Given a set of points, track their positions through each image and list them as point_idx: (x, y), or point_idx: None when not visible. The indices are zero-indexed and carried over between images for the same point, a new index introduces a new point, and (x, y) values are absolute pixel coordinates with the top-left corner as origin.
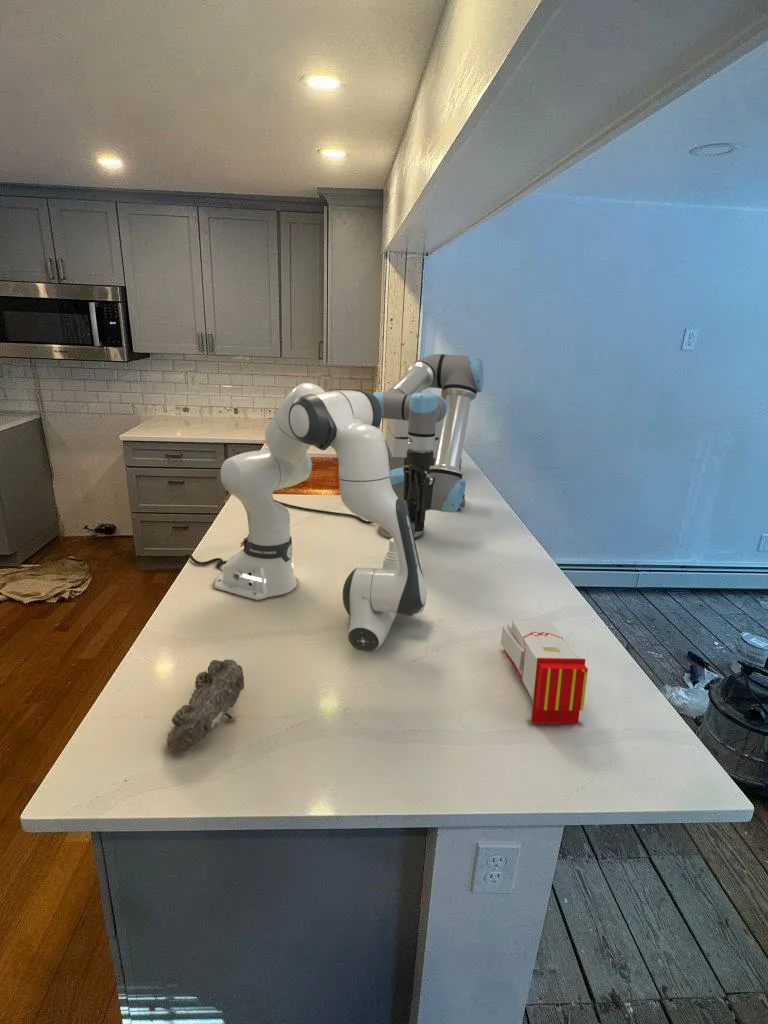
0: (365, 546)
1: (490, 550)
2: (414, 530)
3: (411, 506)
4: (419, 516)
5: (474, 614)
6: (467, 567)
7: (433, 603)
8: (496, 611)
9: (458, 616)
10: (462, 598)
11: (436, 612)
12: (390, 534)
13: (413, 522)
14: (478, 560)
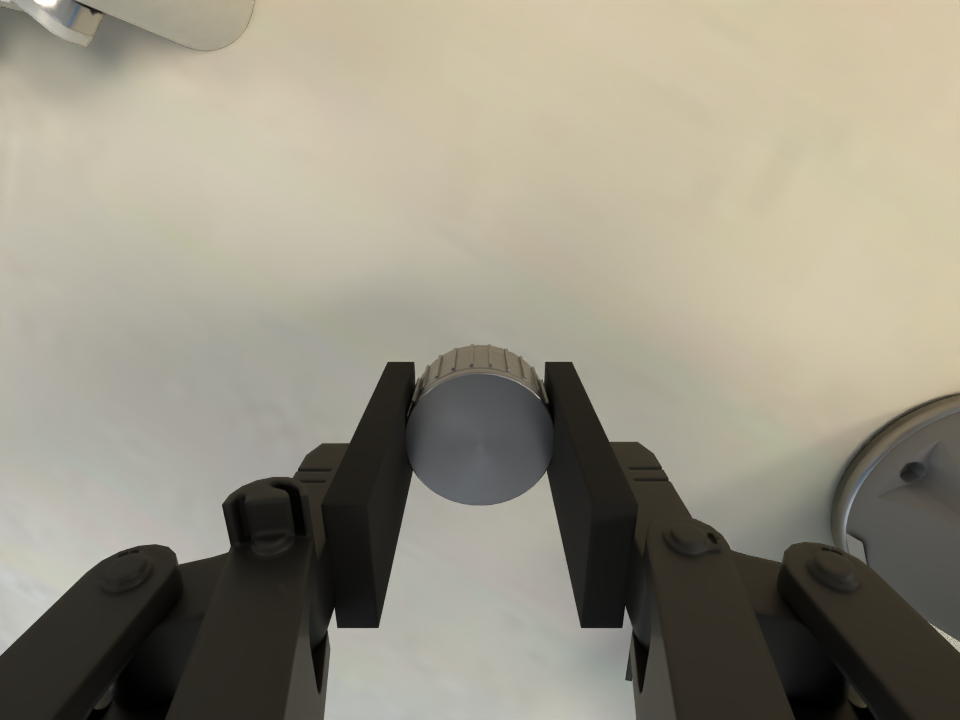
0: (930, 227)
1: (544, 707)
2: (411, 365)
3: (586, 534)
4: (329, 479)
5: (19, 339)
6: (441, 554)
7: (153, 221)
8: (34, 435)
9: (10, 262)
10: (172, 375)
11: (61, 183)
12: (939, 420)
13: (456, 406)
14: (482, 624)
